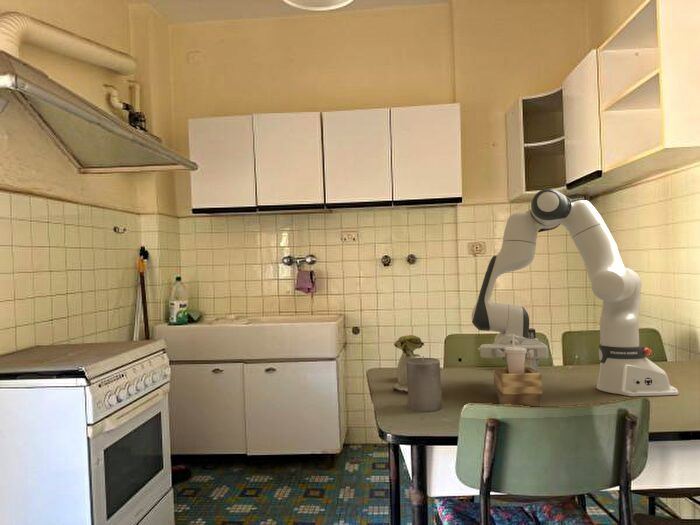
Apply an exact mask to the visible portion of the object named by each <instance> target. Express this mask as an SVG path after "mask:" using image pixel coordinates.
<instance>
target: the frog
mask: <svg viewBox="0 0 700 525" xmlns="http://www.w3.org/2000/svg"><path fill="white" fill-rule="evenodd" d="M393 345H394V347H396V349H399V350H401V355H400V358H399V361H398V363H397V368H396V369H397V371H396V372H397V375H396V376H397V381H398V382H397V384H395V385H392V390H395V389H397V390H399V391H401V392H408V387H407V360H409V359H413V358H415V357H414V355H413V352H415V350H417V349H421V348H423V347H422V346H425V342H422V338H421V337H419V336H416V335H411V334H410V335H408V334H407V335H402V336H400V337H399V338H398V339H397V340H396V341H395V342H394V344H393Z"/></svg>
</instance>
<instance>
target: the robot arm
mask: <svg viewBox="0 0 700 525" xmlns="http://www.w3.org/2000/svg"><path fill="white" fill-rule="evenodd" d="M560 225H562V226H563V227H565V229H566V230H567V231H568V232H569V235H570V237H571V239H572V241H573V243H574V245H575V247H576V248H577V250H578V253H579V255H580V257H581V259H582V260H583V263H584V266H585V270H586V274H587V276H588V278H589V281H590V284H591V291H592V293H593V294H594V295H595V296H596V298H598V299H599V300H601V301H602V308H601V314H600V318H599V338H600V339H599V342H600V344H599V345H598V360H599V363H600V365H599V366H600V367H599V375H598V379H597V384H596V389H597V390H599V391H602V392H605V393H611V394H616V395H617V394H618V395H622V396H623V395H624V396H628V397H651V396H654V397H655V396H657V397H658V396H677V395H679V390H678V389H677V388H676V387H674V386H673V385H670V380H669V376H668V374H667V373H666V371H665V370H664V369H663V368H661V367H659V366H658V365H657V364H656V363H655V362H653V361H652V360H650V359H649V358H648V357H647V356H651V355H652V353H653V350H652V349H651V348H648V347H643V346H641V345H640V332H639V331H640V329H639V319H640V318H639V316H640V306H641V295H642V294H641V293H642V292H641V291H642V280H641V278H640V276H639V274H638V273H637V272H636V271H635V270H633V269H631V268H628V267H626V266H625V265H624V262H623V259H622V257H621V255H620V253H619V248H618V245H617V244H618V243H616V241H615V239H614V237H613V235H612V233H611V232H610V230H609V228H608V226H607V224H606V222H605V221H604V218H602V215H601V214H600V213H599V211H598V210H597V209H596V207H595V206H594V205H593V204H592V203H591V202H590V201H589V200H586V199H580V200H575V201H572V199H571V198H569V197H568V196H566V195H564V193H561V191H559V190H557V189H555V188H543V189H541V190H539V191H538V192H537V193H535V195H534V196H533V197H532V199H531V202H530V209H528V210H527V211H525V212H524V211H518V212H514V213H512V214H510V216H509V217H508V218H507V222H506V224H505V228H504V230H503V237H502V244H501V248H500V250H499V251H498V253H497V254H495V255H493V256H492V257H491V259H490V261H489V262H488V266H487V269H486V271H485V274H484V278H483V280H482V284H481V288H480V291H479V294H478V298H477V300H476V302H475V305H474V306H473V309H472V313H471V323H472V324H473V326H474V327H475V328H476V329H477V330H478V331H483V332H490V331H491V332H496V333H497V334H496V335H495V338H494V341H493V343H483V344H481V345H480V347H478V348H477V351H478V352H479V355H480V358H481V359H501V360H502V361H503V362H507V358H506V352H504V351H505V348H507V347H513V346H512V334H514V347H522V348H526V349H527V352H526V355H525V360H530V359H537V360H538V359H543V360H544V359H549V346H548V345H547V344H546V343H544V342H542V341H539V338H528V337H526V336H527V334H528V331H529V328H530V316H529V313H528V312H527V311H528V310H526V309H525V307H523V305H517V304H510V303H509V304H506V303H500V302H499V303H497V302H493V301H491V297H492V294H493V292H494V287H495V284H496V281H497V279H498V277H500V276H501V275H503V274H506V273H510V272H515V271H519V270H522V269H524V268H527V266H529V265H530V264H531V263H533V261H534V258H535V254H536V249H537V238H538V233H541V232H542V233H543V232H546V231H552V230H555V229H557V228H558V227H560Z"/></svg>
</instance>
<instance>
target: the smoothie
mask: <svg viewBox="0 0 700 525" xmlns="http://www.w3.org/2000/svg"><path fill="white" fill-rule="evenodd" d="M512 346H513V347H507V348H505V351H504V352H506V358H507V368H508V370H509V374H522V373H524V367H525V355H526V352H527V349H526V348H522V347H514V334H512Z"/></svg>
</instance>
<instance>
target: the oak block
mask: <svg viewBox="0 0 700 525" xmlns="http://www.w3.org/2000/svg"><path fill="white" fill-rule="evenodd" d="M542 381H543V378H542V373H540V372H538V371H535V370H533V369H532V368H530V367H524V373H522V374H509V370H508V367H494V368H493V387H494V388H496V390H497V389H498V390H499V391H500V392H501V393H503V394H540V395H542V394H543V383H542Z"/></svg>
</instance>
